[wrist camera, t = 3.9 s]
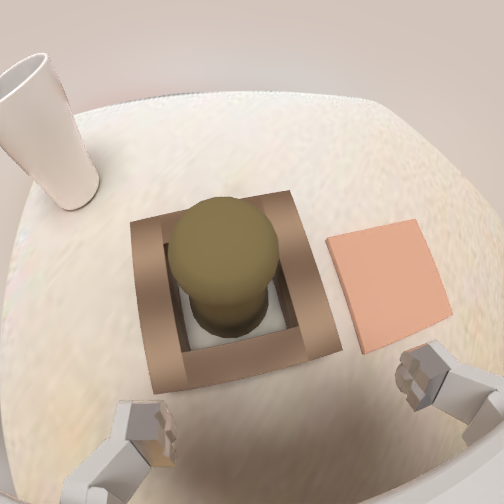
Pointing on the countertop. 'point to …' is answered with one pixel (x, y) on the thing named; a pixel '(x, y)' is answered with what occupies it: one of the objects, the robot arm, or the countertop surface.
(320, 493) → the countertop surface
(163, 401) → the robot arm
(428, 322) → the terracotta tile
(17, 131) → the drinking glass
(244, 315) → the cork
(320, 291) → the walnut socket block
